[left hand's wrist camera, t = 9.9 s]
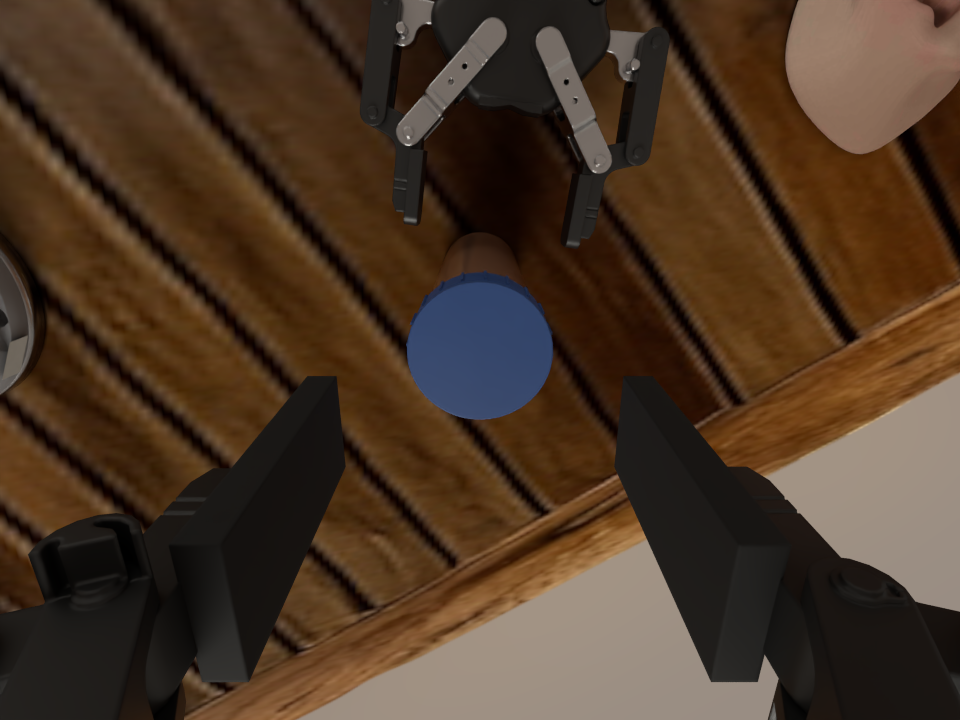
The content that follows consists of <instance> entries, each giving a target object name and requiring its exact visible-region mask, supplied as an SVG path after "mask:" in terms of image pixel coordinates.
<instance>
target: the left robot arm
mask: <svg viewBox="0 0 960 720" xmlns="http://www.w3.org/2000/svg"><path fill="white" fill-rule="evenodd" d="M44 334H45V321H44V313H43V307H42V303H41V299H40V296H39V293H38V290H37V287H36V285H35V283H34V280H33V278H32V276H31V274H30V272H29V271H28V269H27V267H26V265H25V264H24V262H23V261H22V259H21V258H20V256H19V254H18V253H17V252H16V251H15V249H14V248H13V247H12V245H11V244H10V243H9V242H8V241H7V240H6V239H5V237H4V236H3V235H2V234H1V233H0V395H2V394H4V393H6V392H8V391H10V390H12V389H13V388H15V387H16V386H18V385H19V384H20V383H21V382H22V381H23V380H25V379H26V377H27V376H28V375H29V374H30V373H31V371H32V370H33V368H34V367H35V365H36V363H37V361H38V359H39V357H40V354H41V351H42V347H43V342H44ZM345 467H346V466H345V457H344V447H343V437H342V427H341V417H340V407H339V397H338V387H337V377H336V376H307V377H306V379H305V380H304V381H303V382H302V384H301V385H300V386H299V387H298V388H297V390H296V391H295V392H294V393H293V394H292V396H291V397H290V398H289V399H288V400H287V402H286V403H285V404H284V405H283V407H282V408H281V409H280V410H279V411H278V413H277V414H276V415H275V416H274V417H273V419H272V420H271V421H270V422H269V423H268V425H267V426H266V427H265V428H264V430H263V431H262V432H261V433H260V434H259V436H258V437H257V438H256V439H255V440H254V442H253V443H252V444H251V445H250V446H249V448H248V449H247V450H246V451H245V453H244V454H243V455H242V456H241V457H240V459H239V460H238V461H237V462H236V463H235V465H234V466H233V467H232V468H213V469H212V470H210V471H208V472H207V473H205V474H203V475H202V476H200V477H199V478H197V479H195V480H194V481H192V482H191V483H190V484H189V485H188V486H187V487H186V488H185V489H184V490H183V491H182V492H181V493H180V495H179V496H178V497H177V498H176V502H172V503H171V504H170V505H169V507H168V508H167V509H166V510H165V511H164V514H163V515H160V516H159V517H158V519H157V520H156V521H155V522H154V523H153V524H152V525H151V526H150V527H149V528H148V529H147V530H146V532H145V533H144V534H143V533H142V530H141V526H140V522H139V521H138V520H137V519H135V518H134V517H133V516H131V515H125V514H118V513H114V514H105V515H97V516H93V517H90V518H86V519H83V520H79V521H76V522H74V523H72V524H69V525H67V526H65V527H63V528H61V529H58V530H56V531H55V532H53V533H52V534H50V535H49V536H47V537H46V538H44V539H43V540H41V541H40V542H39V543H38V544H37V545H36V546H35V547H34V548H33V549H32V551H31V552H30V553H29V554H28V556H29V558H30V561H31V564H32V567H33V569H34V572H35V575H36V578H37V580H38V583H39V586H40V589H41V592H42V594H43V597H44V600H45V603H44V604H43V605H40V606H35V607H31V608H26V609H22V610H17V611H13V612H8V613H4V614H0V720H184V714H185V706H186V699H185V692H184V687H183V683H182V679H183V677H184V676H185V674H186V672H187V670H188V669H189V667H190V665H191V664H192V662H193V660H194V658H195V657H196V659H197V663H198V667H199V671H200V675H201V679H202V682H249V680H250V678H251V676H252V674H253V672H254V669H255V667H256V665H257V663H258V660H259V658H260V656H261V654H262V652H263V649H264V647H265V645H266V643H267V640H268V638H269V636H270V634H271V632H272V629H273V627H274V625H275V623H276V620H277V618H278V616H279V614H280V611H281V609H282V607H283V605H284V603H285V600H286V598H287V596H288V594H289V591H290V589H291V587H292V585H293V583H294V580H295V578H296V576H297V574H298V571H299V569H300V567H301V565H302V563H303V560H304V558H305V556H306V554H307V551H308V549H309V547H310V545H311V542H312V540H313V538H314V536H315V534H316V531H317V529H318V527H319V525H320V522H321V520H322V518H323V516H324V514H325V511H326V509H327V507H328V505H329V502H330V500H331V498H332V496H333V494H334V491H335V489H336V487H337V485H338V482H339V480H340V478H341V476H342V473H343V471H344V469H345ZM614 467H615V469H616V471H617V473H618V476H619V478H620V480H621V482H622V485H623V487H624V489H625V491H626V494H627V496H628V498H629V500H630V502H631V505H632V507H633V509H634V511H635V514H636V516H637V518H638V520H639V522H640V525H641V527H642V529H643V531H644V534H645V536H646V538H647V540H648V542H649V545H650V547H651V549H652V551H653V554H654V556H655V558H656V560H657V562H658V565H659V567H660V569H661V571H662V574H663V576H664V578H665V580H666V583H667V585H668V587H669V589H670V591H671V594H672V596H673V598H674V600H675V602H676V605H677V607H678V609H679V611H680V614H681V616H682V618H683V620H684V623H685V625H686V627H687V629H688V631H689V634H690V636H691V638H692V640H693V643H694V645H695V647H696V649H697V651H698V654H699V656H700V658H701V660H702V663H703V665H704V667H705V669H706V672H707V674H708V676H709V678H710V680H711V682H758V679H759V674H760V670H761V667H762V662H763V659H764V655H765V656H766V657H767V659H768V661H769V662H770V664H771V666H772V668H773V669H774V671H775V673H776V674H777V676H778V678H779V680H778V683H777V687H776V691H775V695H774V699H773V702H772V706H771V710H770V713H769V717H768V720H960V612H958V611H954V610H949V609H945V608H940V607H936V606H931V605H927V604H922V603H918V602H915V601H914V599H913V598H912V597H911V595H910V594H909V593H908V591H907V590H906V589H905V588H904V587H903V586H902V585H901V584H899V583H898V582H897V581H895V580H894V579H893V578H892V577H890V576H889V575H887V574H885V573H883V572H881V571H879V570H878V569H876V568H874V567H872V566H870V565H867V564H864V563H861V562H858V561H855V560H852V559H847V558H841V557H840V556H839V555H838V554H837V553H836V552H835V551H834V550H833V549H832V547H831V546H830V545H829V544H828V543H827V542H826V541H825V540H824V539H823V538H822V537H821V536H820V534H819V533H818V532H817V531H816V530H815V529H814V528H813V527H812V526H811V525H810V524H809V523H808V521H807V520H806V519H805V518H804V517H803V516H802V515H801V514H799V513H797V510H796V509H795V507H794V506H793V505H792V504H791V503H790V502H789V501H788V500H785V498H784V496H783V494H782V493H781V492H780V491H779V490H778V489H777V488H776V487H775V486H774V485H773V484H772V483H771V482H770V481H769V480H768V479H766V478H765V477H763V476H761V475H760V474H758V473H756V472H755V471H753V470H752V469H750V468H748V467H727V466H726V465H725V463H724V462H723V461H722V460H721V459H720V457H719V456H718V455H717V454H716V453H715V451H714V450H713V449H712V448H711V446H710V445H709V444H708V443H707V442H706V440H705V439H704V438H703V437H702V436H701V434H700V433H699V432H698V431H697V430H696V428H695V427H694V426H693V425H692V423H691V422H690V421H689V420H688V419H687V417H686V416H685V415H684V414H683V413H682V411H681V410H680V409H679V408H678V407H677V405H676V404H675V403H674V402H673V400H672V399H671V398H670V397H669V396H668V394H667V393H666V392H665V391H664V390H663V388H662V387H661V386H660V385H659V384H658V382H657V381H656V380H655V379H654V377H653V376H624V377H623V387H622V397H621V407H620V417H619V427H618V437H617V447H616V457H615V466H614Z"/></svg>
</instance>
